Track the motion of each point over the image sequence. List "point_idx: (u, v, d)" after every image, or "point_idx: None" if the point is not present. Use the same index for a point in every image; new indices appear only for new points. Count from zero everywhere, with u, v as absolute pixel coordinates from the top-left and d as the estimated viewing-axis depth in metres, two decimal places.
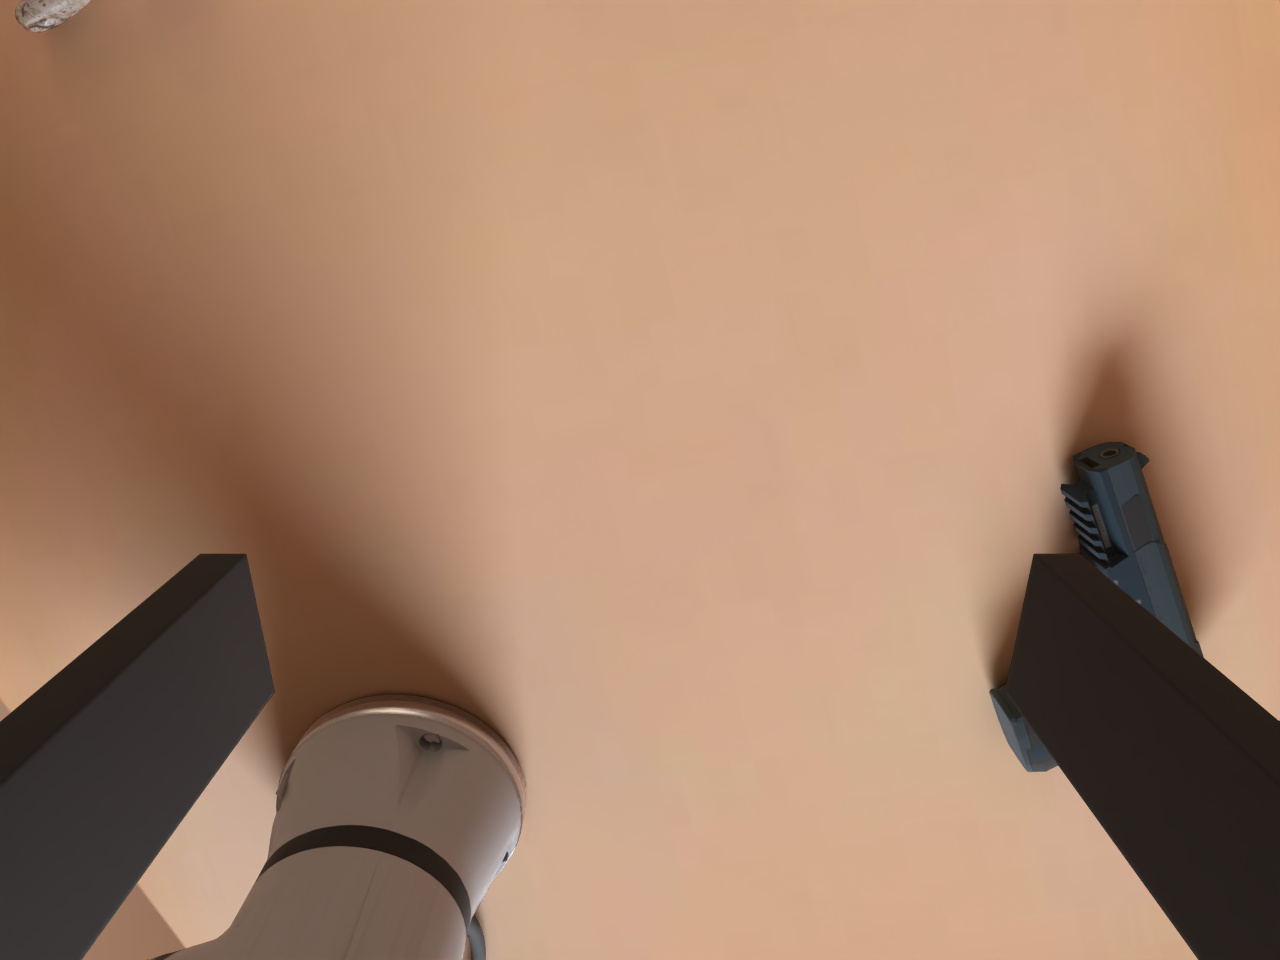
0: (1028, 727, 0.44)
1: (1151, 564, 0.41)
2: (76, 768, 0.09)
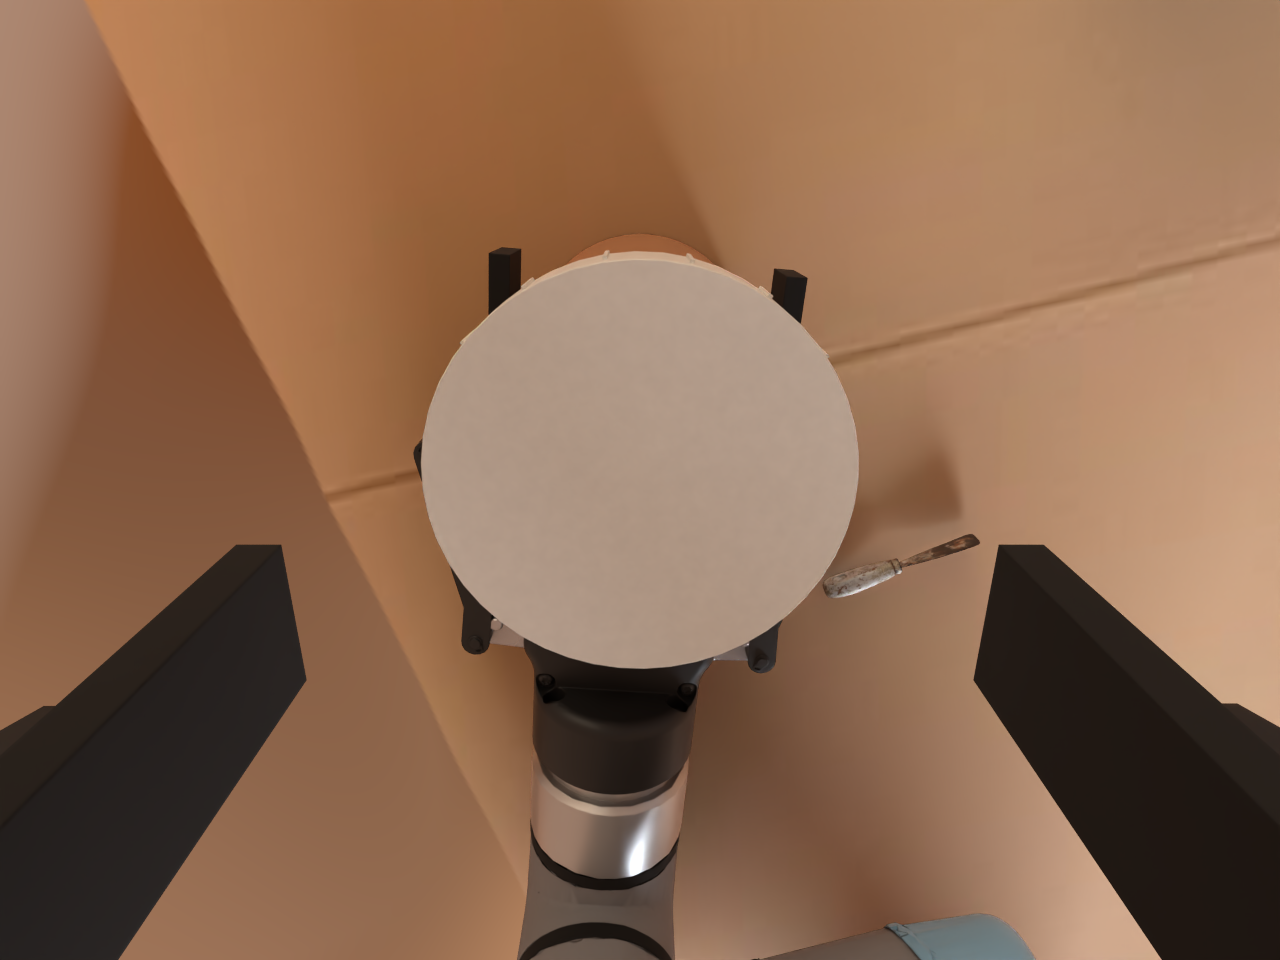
0: None
1: None
2: (132, 748, 0.09)
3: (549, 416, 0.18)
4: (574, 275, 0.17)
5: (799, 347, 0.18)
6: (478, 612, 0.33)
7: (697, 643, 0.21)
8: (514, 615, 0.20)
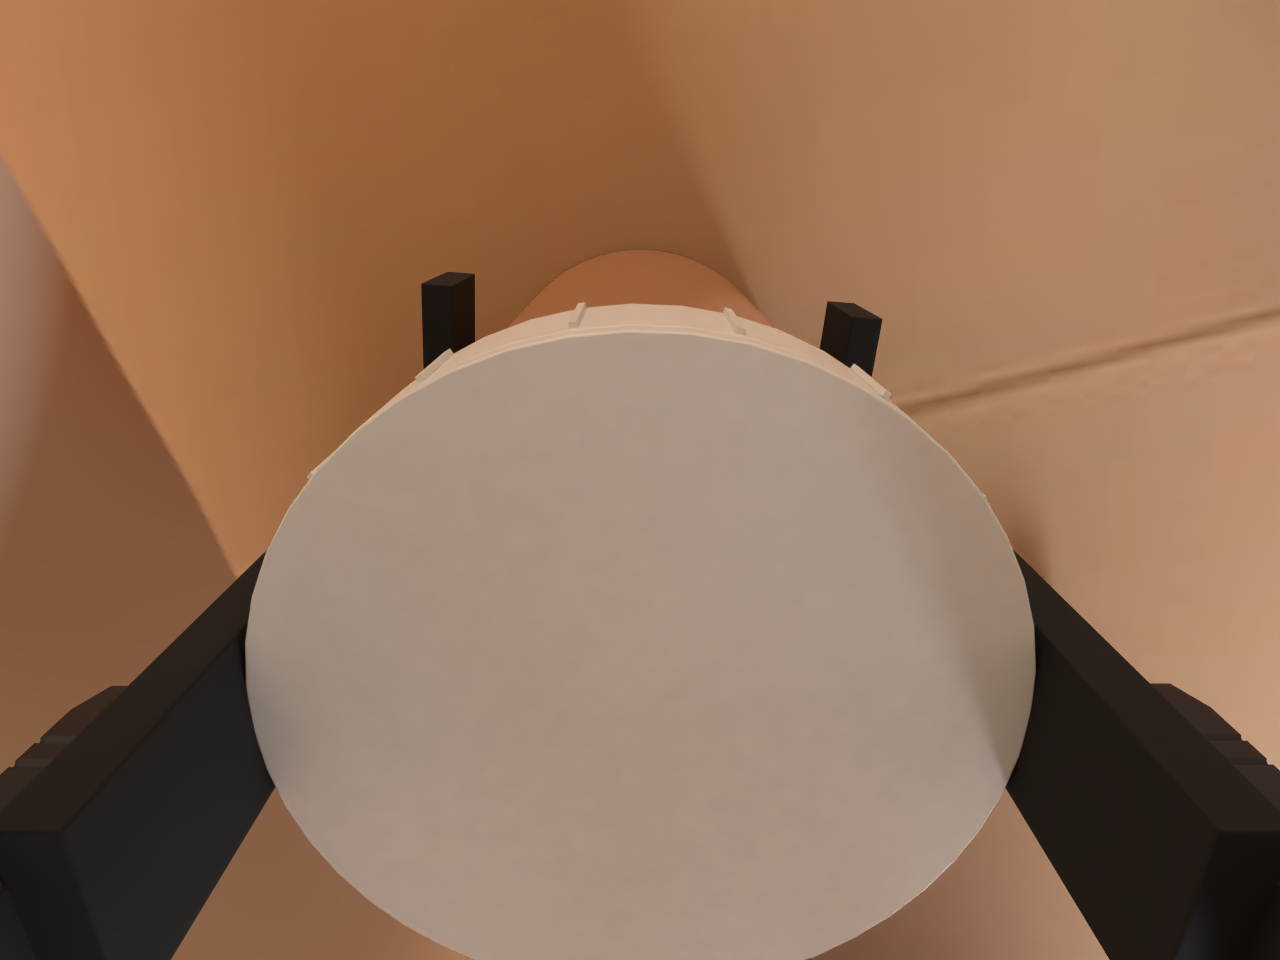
0: None
1: None
2: (202, 724, 0.09)
3: (474, 610, 0.10)
4: (512, 361, 0.09)
5: (942, 492, 0.09)
6: None
7: (736, 956, 0.12)
8: (427, 916, 0.12)
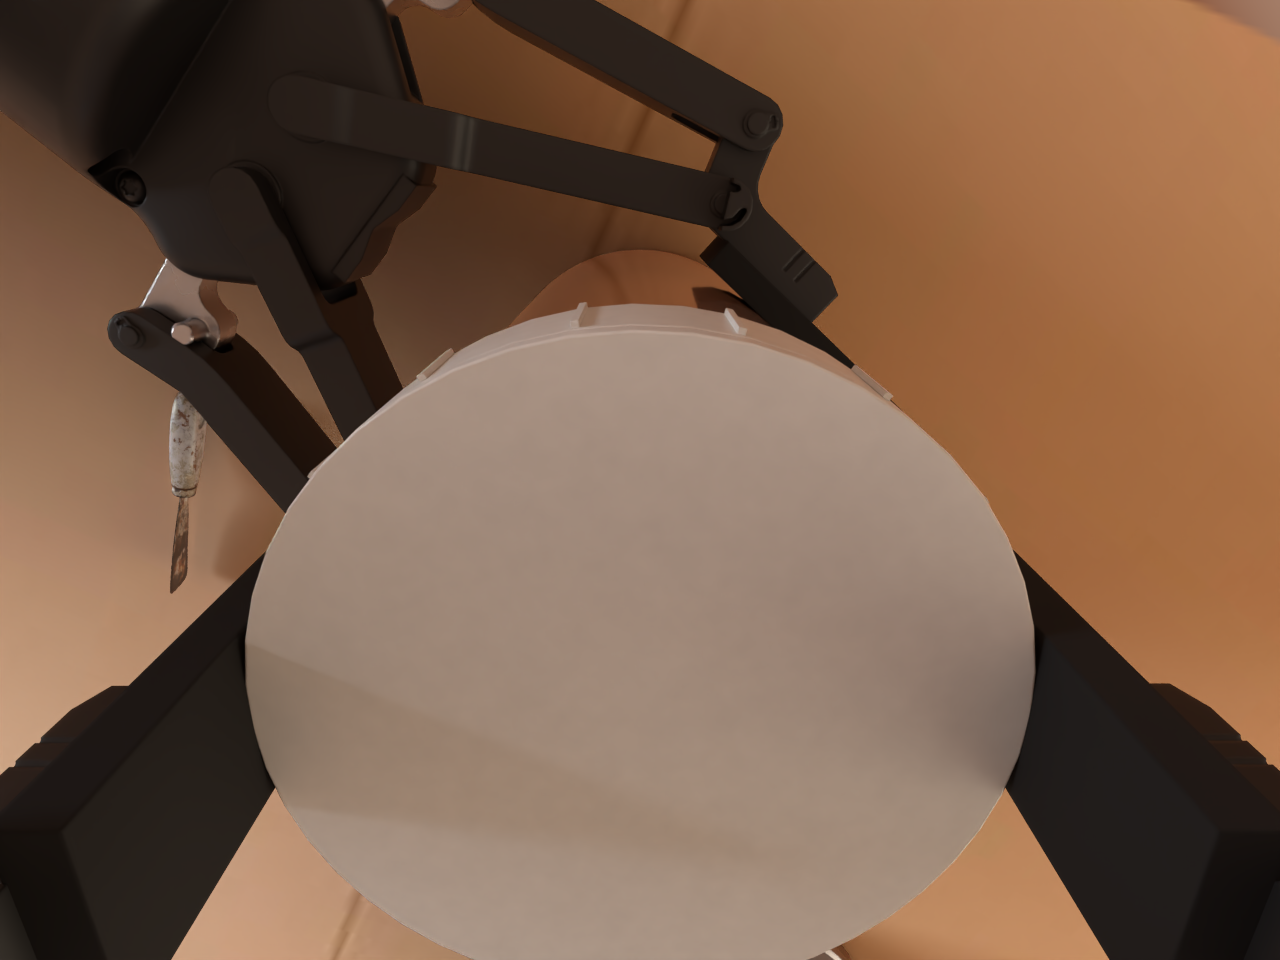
0: None
1: None
2: (202, 724, 0.09)
3: (474, 609, 0.10)
4: (514, 361, 0.09)
5: (942, 493, 0.09)
6: None
7: (735, 956, 0.12)
8: (425, 915, 0.12)
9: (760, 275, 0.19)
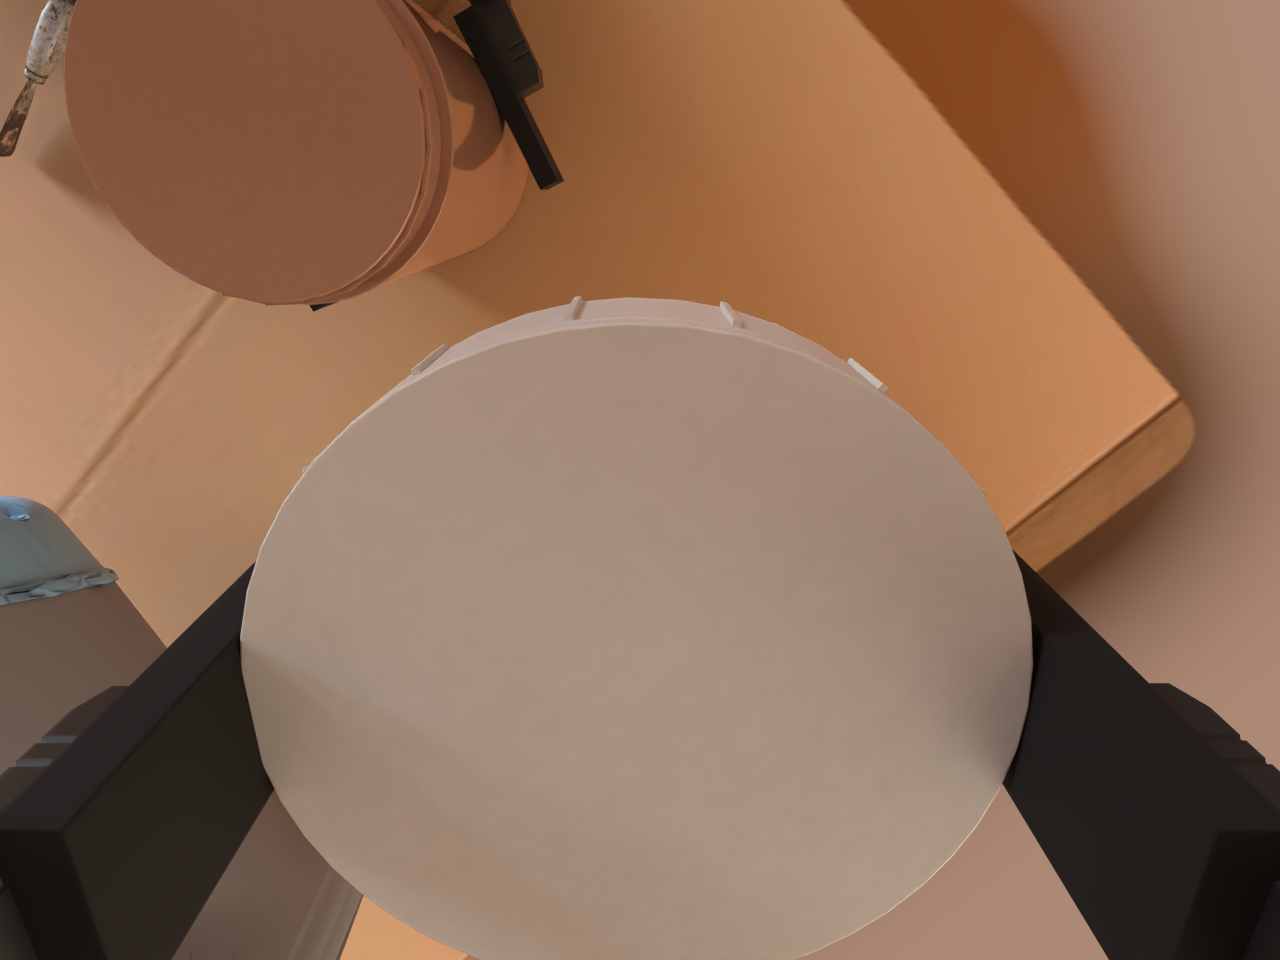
0: None
1: None
2: (203, 724, 0.09)
3: (469, 604, 0.10)
4: (507, 354, 0.09)
5: (938, 486, 0.09)
6: None
7: (733, 952, 0.12)
8: (423, 912, 0.12)
9: (486, 39, 0.28)
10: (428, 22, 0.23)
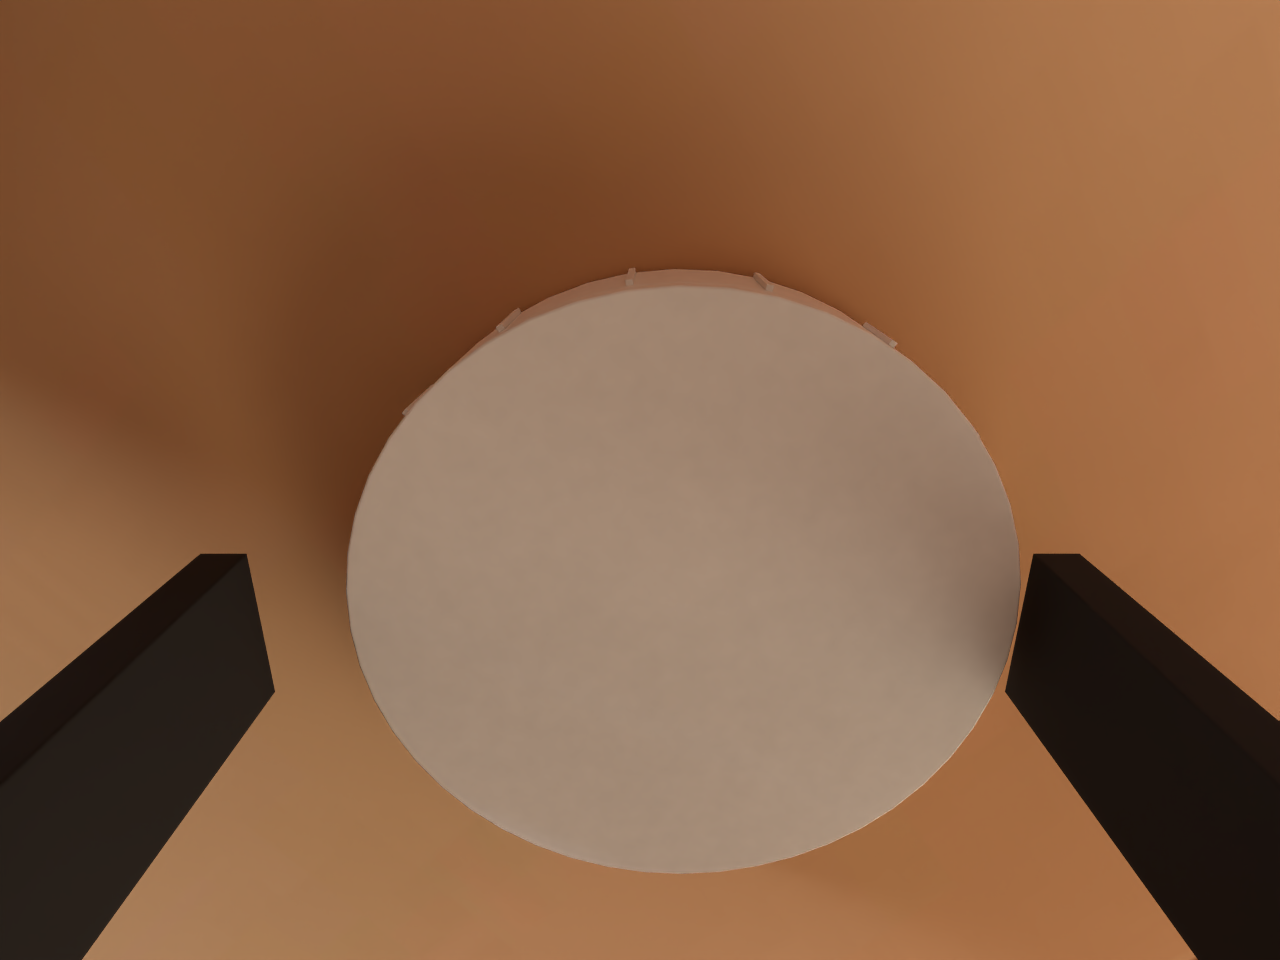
0: None
1: None
2: (76, 768, 0.09)
3: (541, 527, 0.12)
4: (580, 312, 0.11)
5: (939, 426, 0.11)
6: None
7: (759, 842, 0.14)
8: (491, 802, 0.14)
9: None
10: None
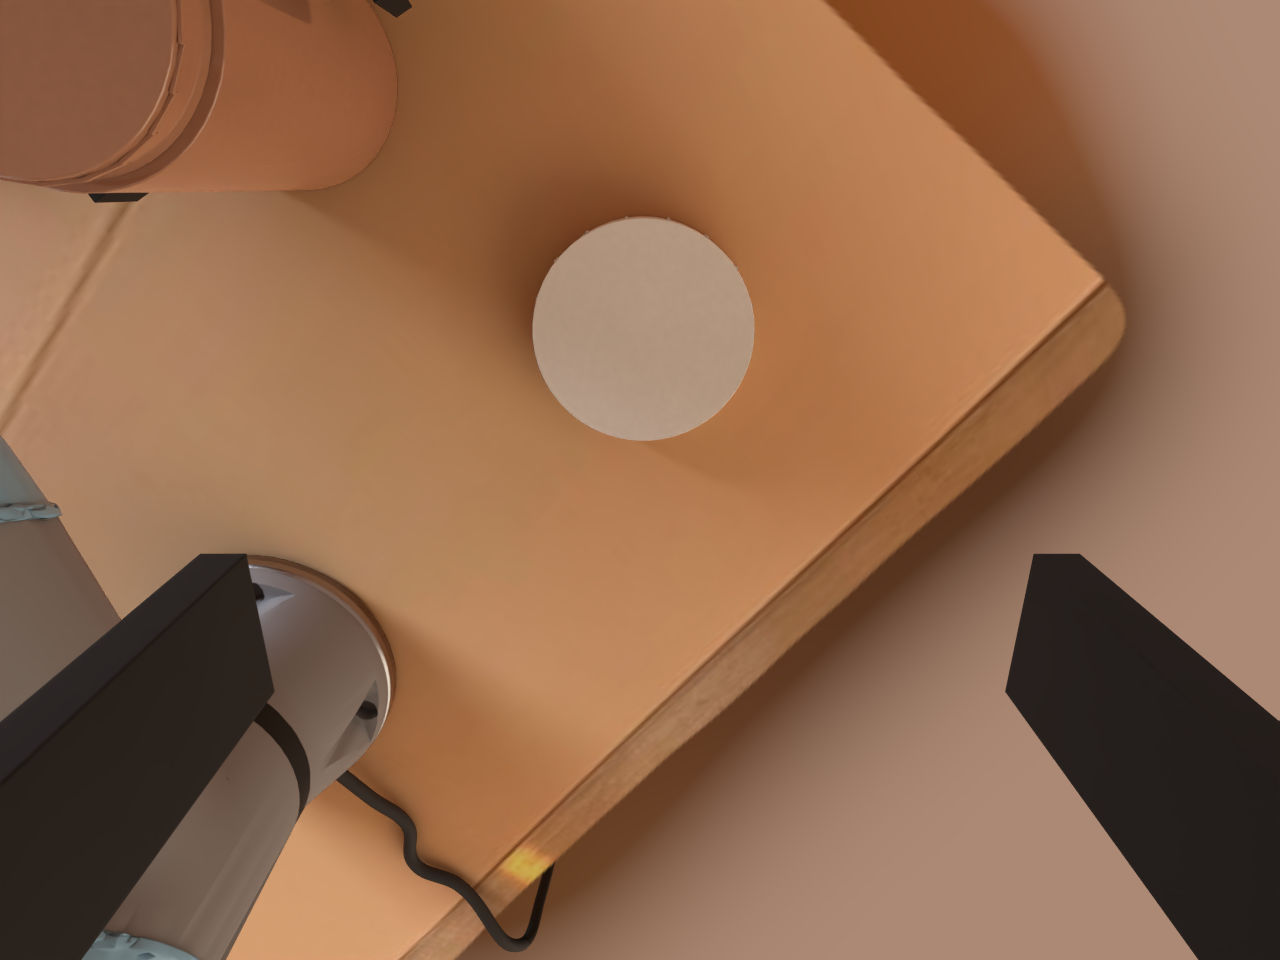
0: None
1: None
2: (76, 768, 0.09)
3: (598, 298, 0.37)
4: (611, 226, 0.36)
5: (722, 262, 0.36)
6: None
7: (673, 425, 0.39)
8: (577, 409, 0.39)
9: None
10: None
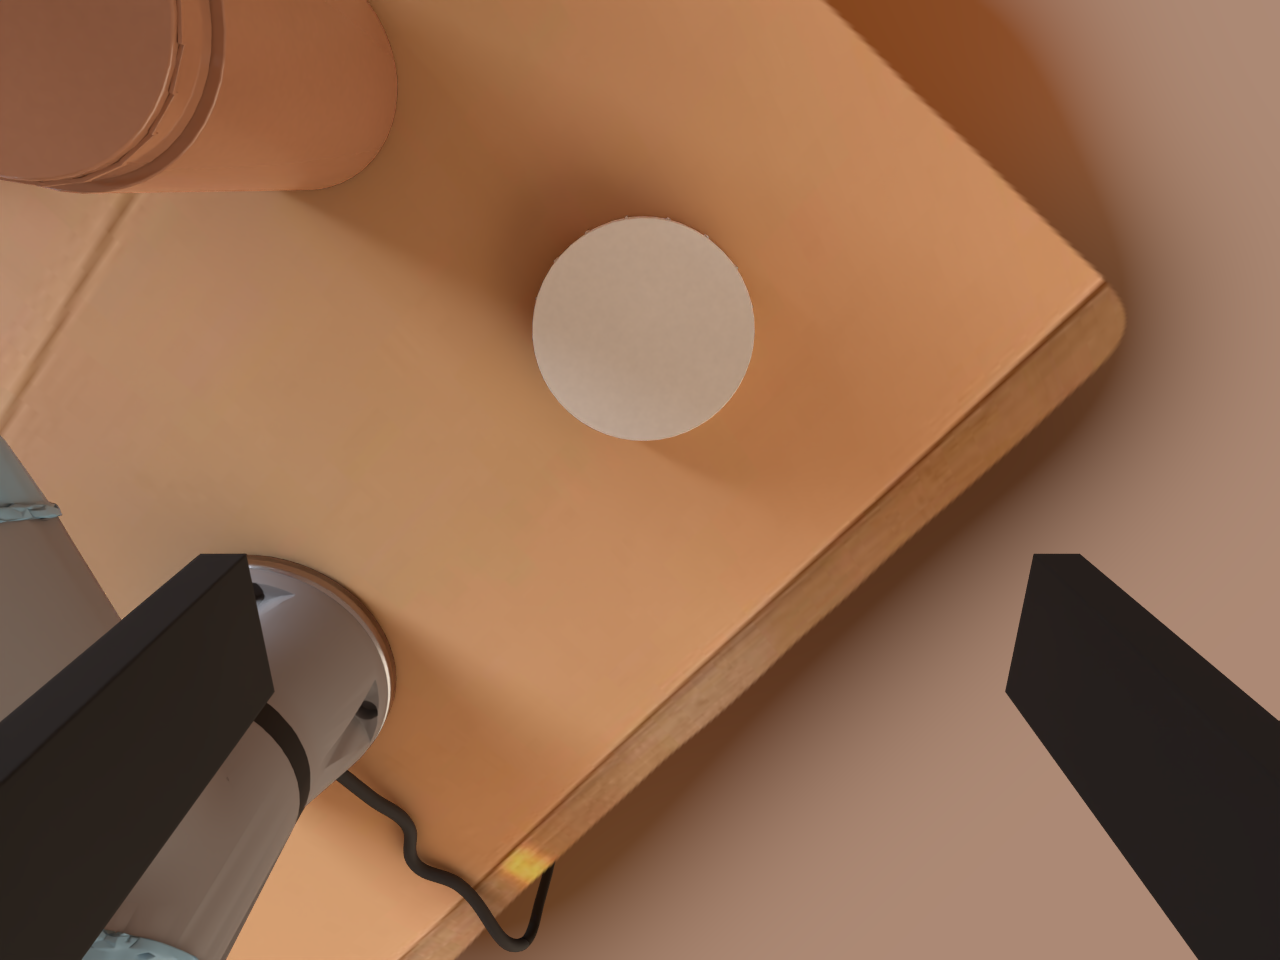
0: None
1: None
2: (76, 768, 0.09)
3: (598, 298, 0.37)
4: (611, 226, 0.36)
5: (722, 262, 0.36)
6: None
7: (673, 425, 0.39)
8: (577, 409, 0.39)
9: None
10: None
